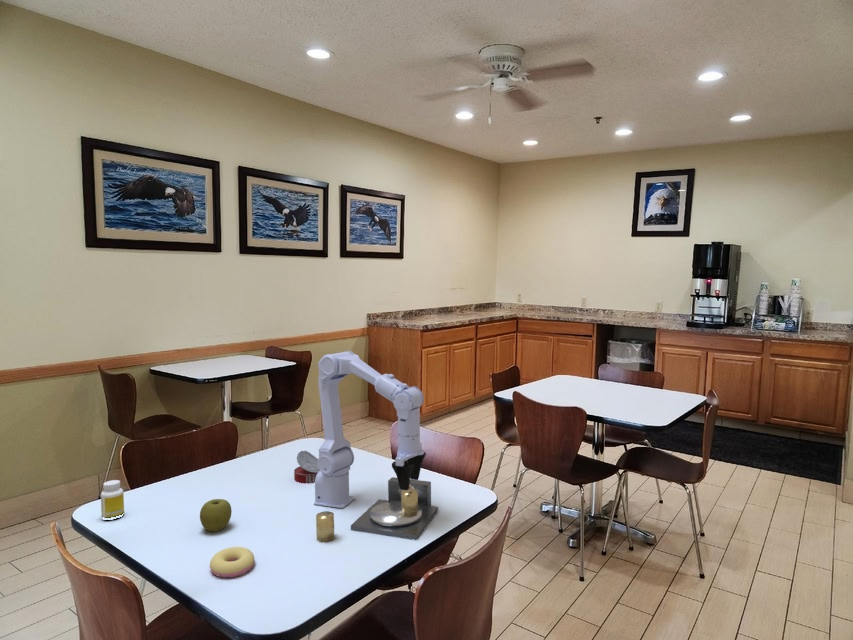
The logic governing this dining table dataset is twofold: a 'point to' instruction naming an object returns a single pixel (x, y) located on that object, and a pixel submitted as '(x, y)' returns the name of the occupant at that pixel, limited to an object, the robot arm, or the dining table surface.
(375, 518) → the scale pan
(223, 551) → the donut
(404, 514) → the cylinder
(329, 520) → the cylinder
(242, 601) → the dining table surface
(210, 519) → the apple
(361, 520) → the scale
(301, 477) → the canned food
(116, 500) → the supplement bottle
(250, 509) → the dining table surface
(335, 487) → the robot arm
